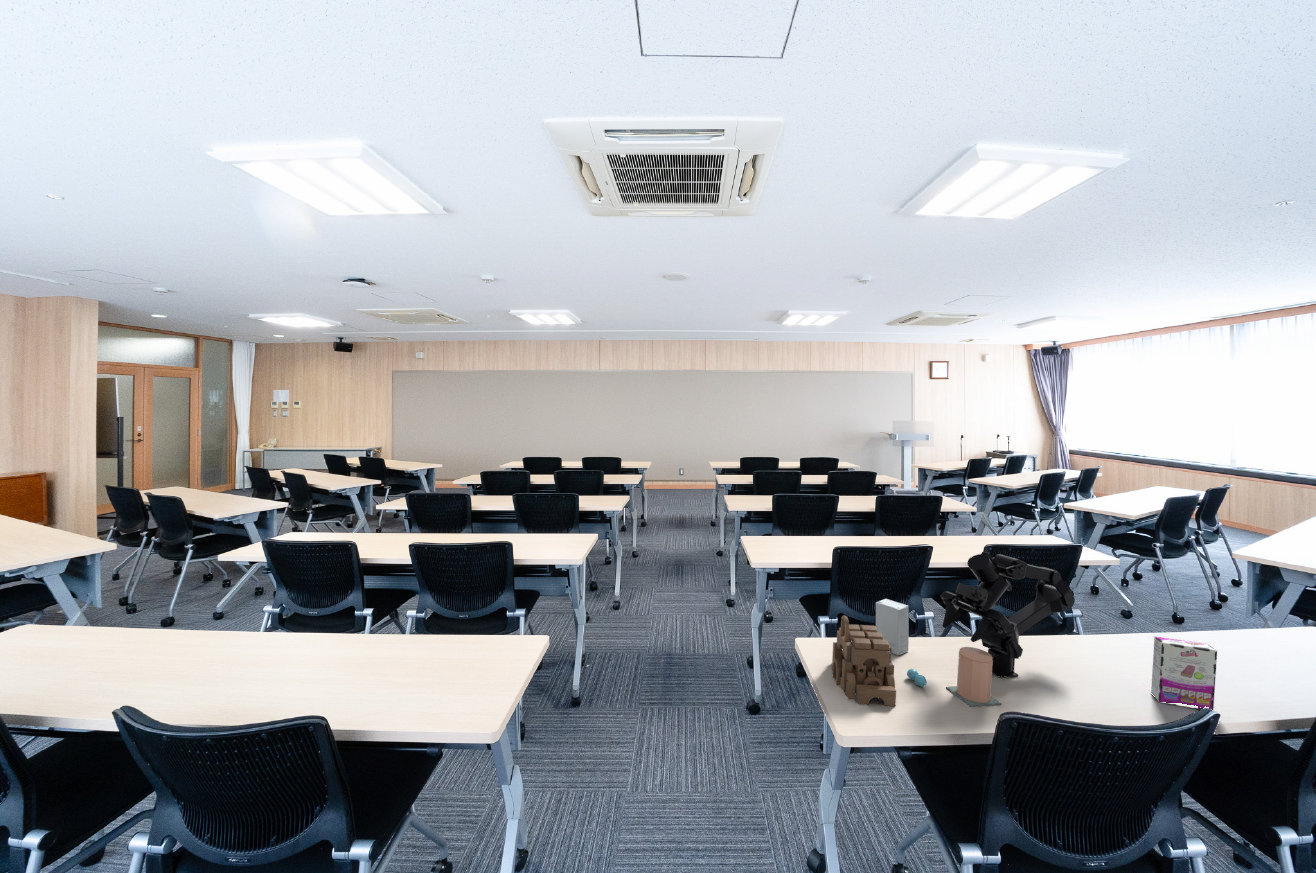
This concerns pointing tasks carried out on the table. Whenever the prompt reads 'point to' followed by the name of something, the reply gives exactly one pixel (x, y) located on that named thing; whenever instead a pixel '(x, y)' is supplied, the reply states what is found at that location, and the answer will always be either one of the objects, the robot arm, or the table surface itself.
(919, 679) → the marble
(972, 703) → the mat
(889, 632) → the skincare box
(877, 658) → the wooden puzzle
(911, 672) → the marble
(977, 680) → the salmon pink cylinder
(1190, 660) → the candy bar box
